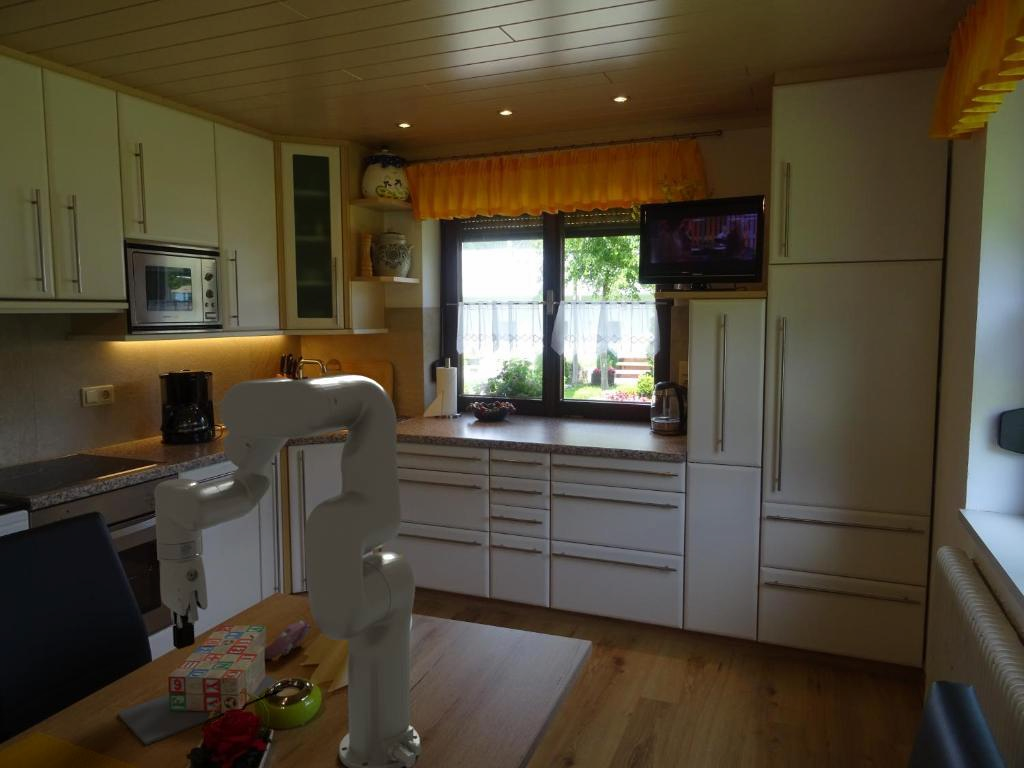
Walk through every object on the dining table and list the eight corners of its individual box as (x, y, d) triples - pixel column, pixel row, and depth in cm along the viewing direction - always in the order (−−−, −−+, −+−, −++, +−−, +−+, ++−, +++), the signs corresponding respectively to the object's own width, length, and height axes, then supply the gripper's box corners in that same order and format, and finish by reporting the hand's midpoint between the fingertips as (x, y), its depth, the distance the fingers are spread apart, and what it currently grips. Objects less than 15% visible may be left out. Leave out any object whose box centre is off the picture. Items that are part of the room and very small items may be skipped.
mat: (283, 689, 133) (283, 686, 133) (146, 745, 116) (145, 742, 116) (250, 666, 142) (250, 663, 142) (118, 715, 124) (117, 712, 124)
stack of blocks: (220, 624, 145) (281, 625, 145) (221, 654, 146) (282, 655, 145) (167, 676, 124) (239, 678, 123) (168, 711, 124) (240, 713, 124)
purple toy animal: (276, 670, 143) (289, 642, 142) (259, 657, 144) (271, 629, 143) (305, 648, 153) (318, 621, 151) (289, 636, 154) (301, 609, 152)
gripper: (219, 552, 129) (222, 651, 131) (183, 534, 139) (187, 627, 141) (175, 563, 123) (180, 666, 125) (142, 543, 134) (147, 639, 135)
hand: (184, 645), depth 133 cm, fingers closed
